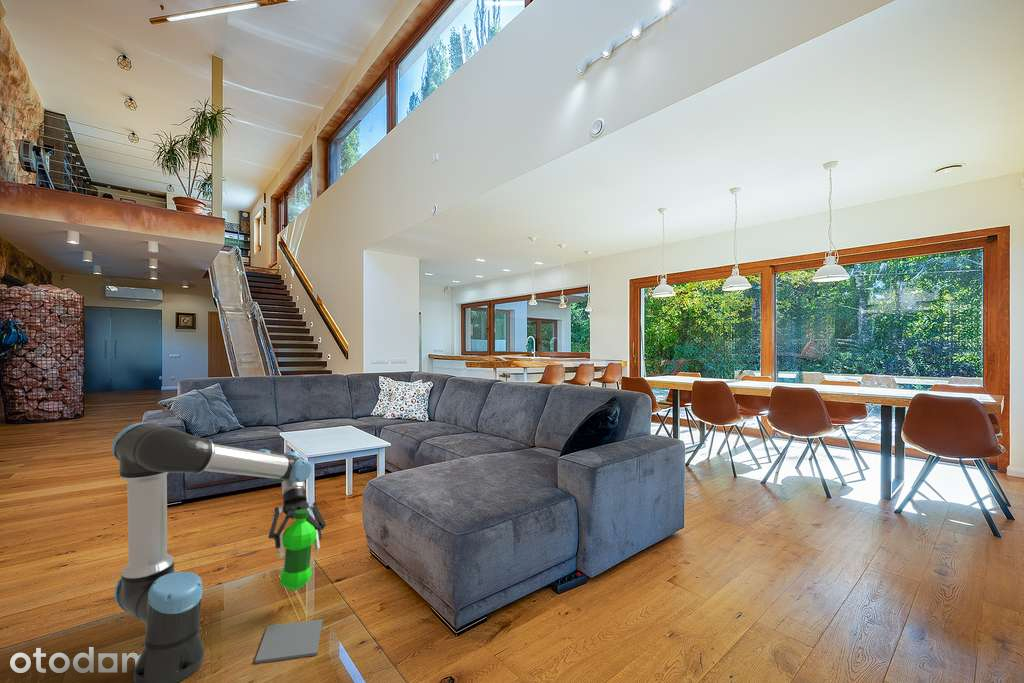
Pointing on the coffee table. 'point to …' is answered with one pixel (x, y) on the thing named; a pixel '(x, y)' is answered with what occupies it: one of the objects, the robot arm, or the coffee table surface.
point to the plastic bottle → (297, 552)
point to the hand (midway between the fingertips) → (300, 553)
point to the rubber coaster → (290, 641)
